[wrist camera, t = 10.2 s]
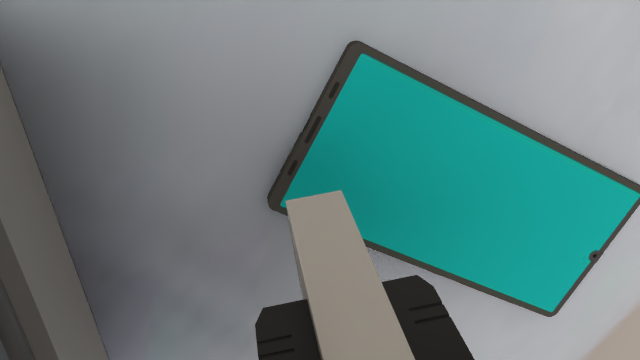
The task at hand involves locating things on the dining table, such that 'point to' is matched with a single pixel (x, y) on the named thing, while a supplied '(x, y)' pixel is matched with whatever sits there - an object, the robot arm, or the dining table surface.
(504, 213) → the smartphone
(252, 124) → the dining table surface
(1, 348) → the cover
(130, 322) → the dining table surface
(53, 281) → the hinged lid box
